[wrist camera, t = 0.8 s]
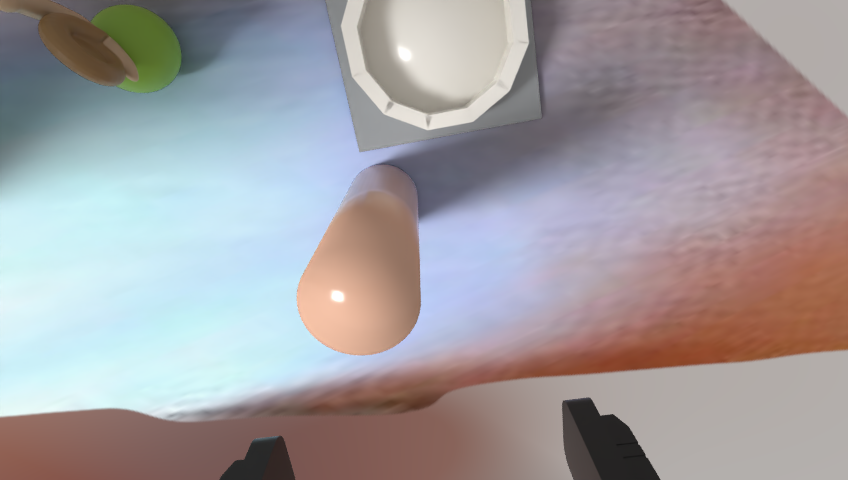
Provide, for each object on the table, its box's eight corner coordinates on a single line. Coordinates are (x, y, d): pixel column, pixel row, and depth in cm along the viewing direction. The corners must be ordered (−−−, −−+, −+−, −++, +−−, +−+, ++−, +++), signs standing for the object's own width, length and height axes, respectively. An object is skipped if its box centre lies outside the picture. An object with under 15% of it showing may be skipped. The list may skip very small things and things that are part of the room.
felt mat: (360, 151, 37) (359, 152, 37) (313, -54, 32) (312, -56, 32) (540, 117, 36) (541, 118, 36) (520, -97, 32) (521, -99, 31)
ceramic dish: (369, 136, 36) (366, 141, 34) (330, -42, 32) (324, -51, 30) (527, 107, 36) (535, 110, 33) (508, -78, 32) (515, -90, 29)
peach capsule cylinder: (357, 236, 39) (314, 364, 22) (341, 171, 37) (281, 256, 20) (423, 224, 39) (430, 344, 22) (410, 158, 37) (407, 234, 20)
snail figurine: (135, -21, 33) (-12, -67, 21) (210, 53, 34) (111, 46, 23) (89, 38, 34) (-73, 23, 23) (164, 106, 36) (47, 125, 24)
